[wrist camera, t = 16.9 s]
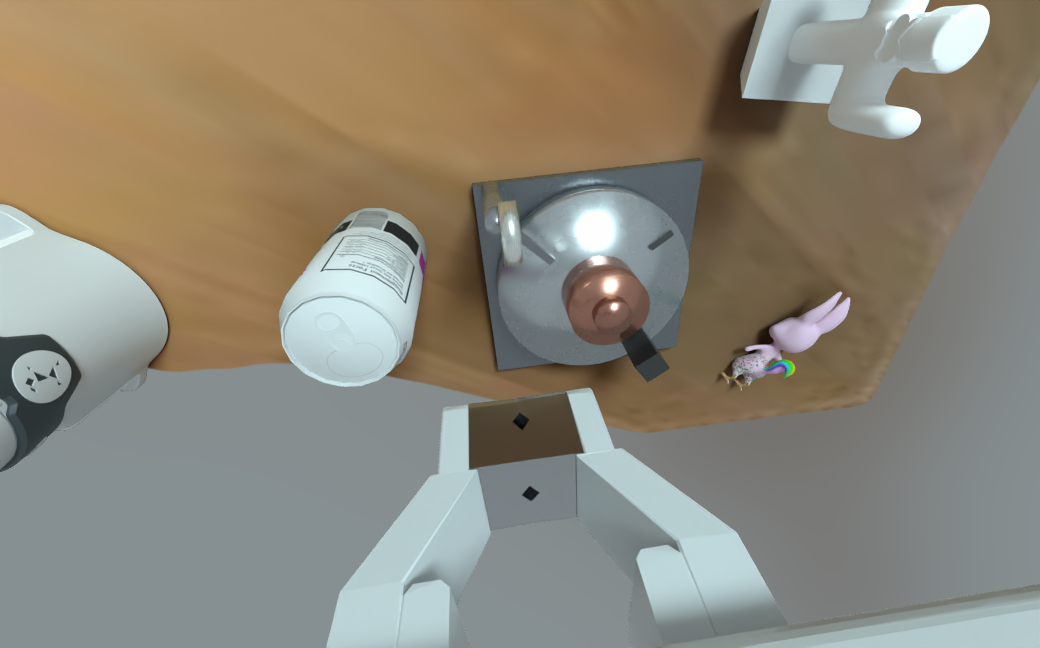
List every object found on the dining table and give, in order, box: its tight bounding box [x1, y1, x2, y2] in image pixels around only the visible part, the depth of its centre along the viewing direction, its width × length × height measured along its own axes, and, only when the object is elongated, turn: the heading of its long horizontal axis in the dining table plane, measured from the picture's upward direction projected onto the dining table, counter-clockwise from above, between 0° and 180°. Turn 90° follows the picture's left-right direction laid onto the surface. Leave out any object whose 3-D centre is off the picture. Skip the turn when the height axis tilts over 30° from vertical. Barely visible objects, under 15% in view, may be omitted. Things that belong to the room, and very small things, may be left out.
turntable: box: [497, 186, 689, 382], centre depth 38 cm, size 18×18×7 cm
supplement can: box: [279, 208, 427, 387], centre depth 32 cm, size 8×8×15 cm
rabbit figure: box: [720, 292, 850, 390], centre depth 47 cm, size 6×6×15 cm
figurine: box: [740, 0, 990, 139], centre depth 27 cm, size 7×9×15 cm
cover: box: [561, 256, 650, 345], centre depth 38 cm, size 7×7×5 cm
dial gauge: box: [481, 181, 555, 267], centre depth 32 cm, size 5×6×11 cm
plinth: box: [472, 158, 703, 370], centre depth 42 cm, size 20×20×1 cm
